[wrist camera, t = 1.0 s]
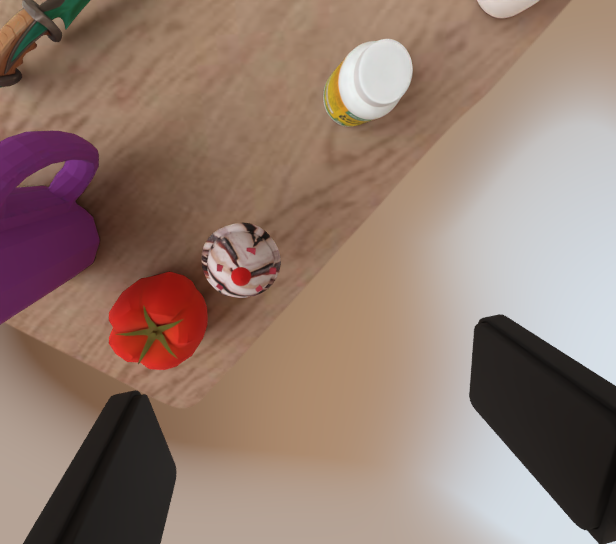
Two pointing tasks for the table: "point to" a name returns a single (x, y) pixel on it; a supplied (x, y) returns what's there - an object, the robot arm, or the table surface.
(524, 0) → the water bottle
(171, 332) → the tomato
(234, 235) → the ice cream cone
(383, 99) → the supplement bottle
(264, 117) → the table surface
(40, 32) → the knife
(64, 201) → the mug
